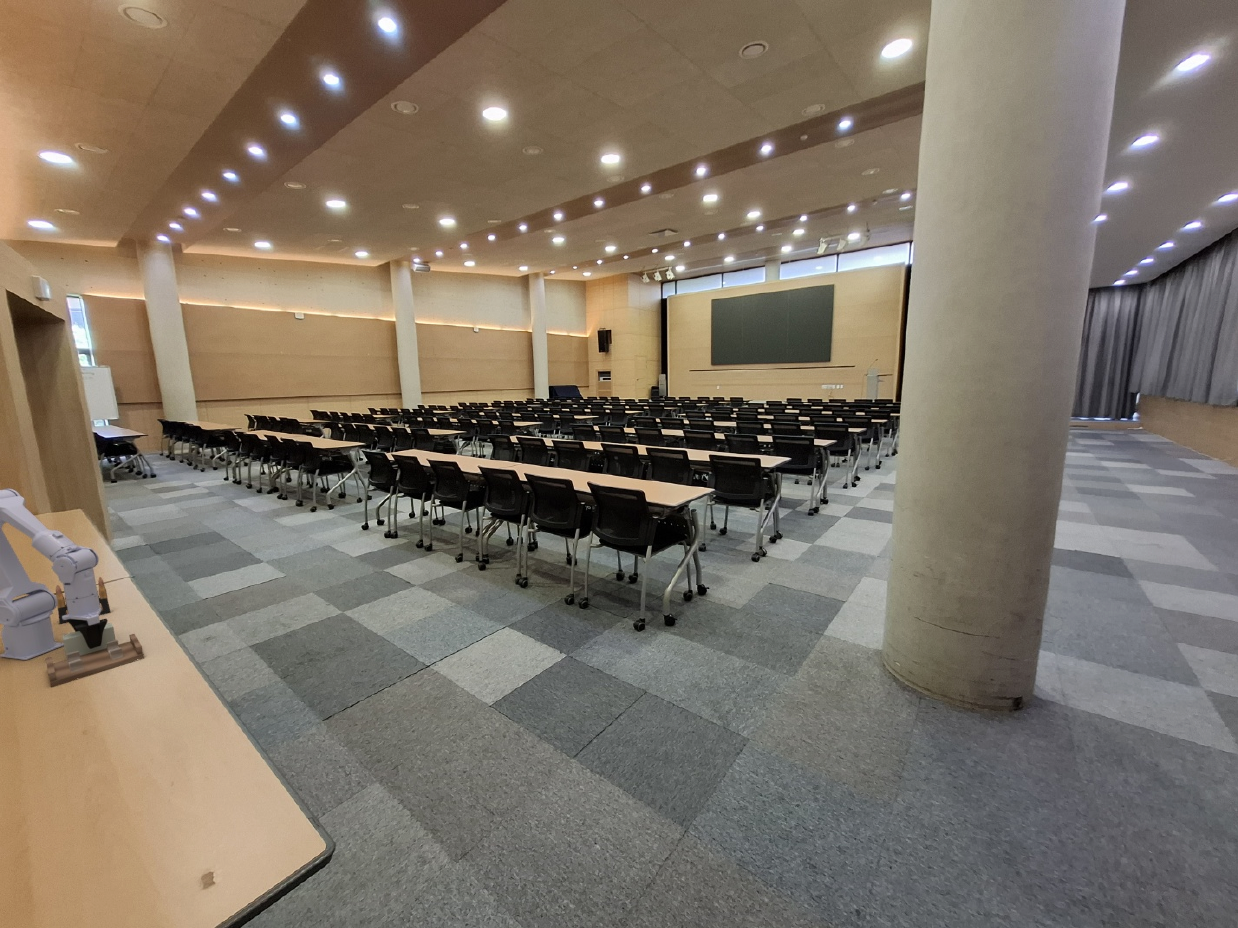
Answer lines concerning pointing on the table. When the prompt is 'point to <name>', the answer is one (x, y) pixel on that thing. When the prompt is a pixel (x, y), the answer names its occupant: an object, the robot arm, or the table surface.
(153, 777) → the table surface
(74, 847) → the table surface
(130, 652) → the brown wooden holder
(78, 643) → the tapered sage green block
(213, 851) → the table surface
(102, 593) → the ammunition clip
